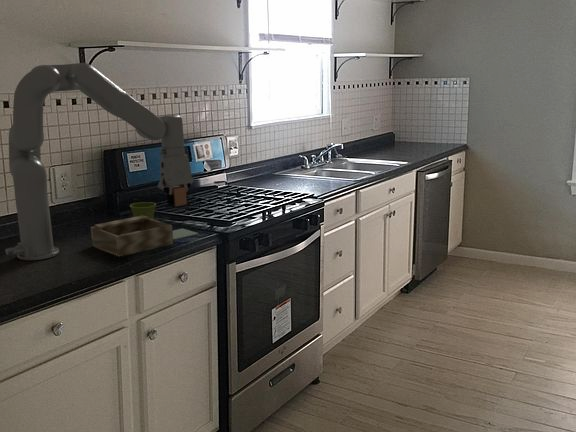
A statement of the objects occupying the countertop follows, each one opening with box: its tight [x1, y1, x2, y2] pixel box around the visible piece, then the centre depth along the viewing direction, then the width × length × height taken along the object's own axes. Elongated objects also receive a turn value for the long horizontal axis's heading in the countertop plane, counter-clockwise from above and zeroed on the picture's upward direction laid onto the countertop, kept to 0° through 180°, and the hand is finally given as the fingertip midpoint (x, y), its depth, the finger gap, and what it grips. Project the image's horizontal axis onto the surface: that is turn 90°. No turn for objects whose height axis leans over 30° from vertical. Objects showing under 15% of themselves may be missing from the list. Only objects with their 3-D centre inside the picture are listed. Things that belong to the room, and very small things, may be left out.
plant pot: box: [129, 201, 157, 219], centre depth 239 cm, size 9×9×9 cm
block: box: [172, 185, 188, 207], centre depth 226 cm, size 4×4×6 cm
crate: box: [90, 215, 174, 258], centre depth 217 cm, size 20×18×7 cm
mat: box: [172, 228, 200, 241], centre depth 229 cm, size 10×10×1 cm
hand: (177, 203), depth 227 cm, fingers closed on block, 4 cm apart
